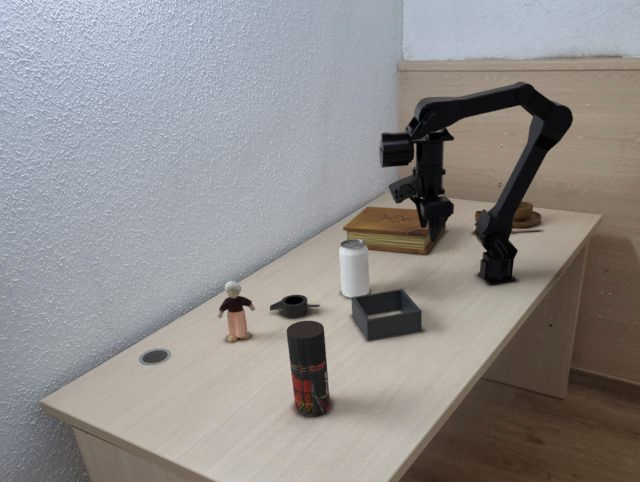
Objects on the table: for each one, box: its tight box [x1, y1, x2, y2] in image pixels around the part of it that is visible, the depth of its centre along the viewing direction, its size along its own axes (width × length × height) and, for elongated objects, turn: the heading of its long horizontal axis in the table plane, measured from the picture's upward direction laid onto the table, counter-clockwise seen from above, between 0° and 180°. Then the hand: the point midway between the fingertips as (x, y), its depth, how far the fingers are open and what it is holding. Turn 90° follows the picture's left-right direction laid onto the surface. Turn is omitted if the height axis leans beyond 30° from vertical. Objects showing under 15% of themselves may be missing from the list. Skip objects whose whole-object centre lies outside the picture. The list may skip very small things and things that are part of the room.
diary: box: [342, 206, 447, 255], centre depth 168 cm, size 23×19×6 cm
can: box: [338, 239, 370, 299], centre depth 138 cm, size 6×6×12 cm
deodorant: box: [286, 320, 331, 418], centre depth 101 cm, size 6×6×15 cm
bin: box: [350, 288, 423, 341], centre depth 127 cm, size 11×11×4 cm
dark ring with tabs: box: [269, 294, 321, 319], centre depth 135 cm, size 8×10×3 cm
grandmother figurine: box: [217, 280, 256, 343], centre depth 124 cm, size 8×4×13 cm, turn 117°
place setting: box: [472, 200, 542, 235], centre depth 172 cm, size 18×20×6 cm
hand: (427, 234), depth 136 cm, fingers open, 9 cm apart
